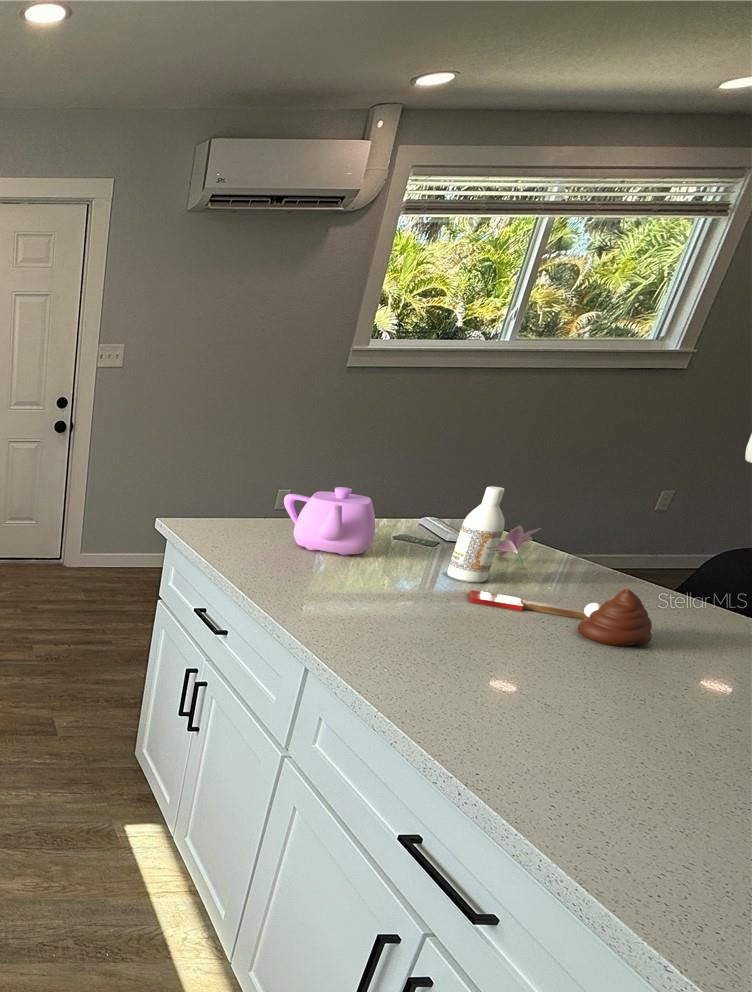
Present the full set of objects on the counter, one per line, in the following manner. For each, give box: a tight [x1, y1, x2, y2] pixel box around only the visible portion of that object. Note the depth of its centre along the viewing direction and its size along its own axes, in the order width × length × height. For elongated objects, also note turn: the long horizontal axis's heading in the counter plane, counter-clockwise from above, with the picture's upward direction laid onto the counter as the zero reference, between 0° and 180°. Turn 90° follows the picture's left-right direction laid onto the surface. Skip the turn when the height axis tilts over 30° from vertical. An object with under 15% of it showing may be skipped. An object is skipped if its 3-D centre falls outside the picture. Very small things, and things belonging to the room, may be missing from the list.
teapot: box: [283, 486, 376, 556], centre depth 155 cm, size 23×21×15 cm
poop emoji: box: [577, 588, 653, 647], centre depth 110 cm, size 10×8×9 cm
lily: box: [496, 525, 542, 569], centre depth 146 cm, size 12×12×10 cm
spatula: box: [468, 589, 587, 620], centre depth 123 cm, size 22×5×1 cm, turn 56°
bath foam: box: [446, 486, 506, 583], centre depth 135 cm, size 7×7×20 cm
